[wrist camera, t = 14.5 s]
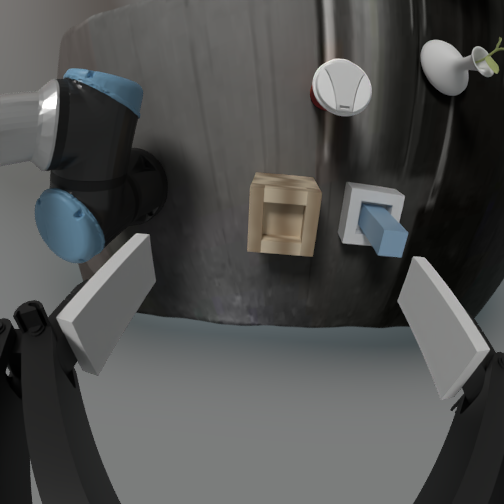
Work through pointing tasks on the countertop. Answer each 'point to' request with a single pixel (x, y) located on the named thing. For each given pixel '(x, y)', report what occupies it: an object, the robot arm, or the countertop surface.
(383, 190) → the block
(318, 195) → the block
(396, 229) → the plug
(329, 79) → the paper cup
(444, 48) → the flower in vase
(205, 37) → the countertop surface
